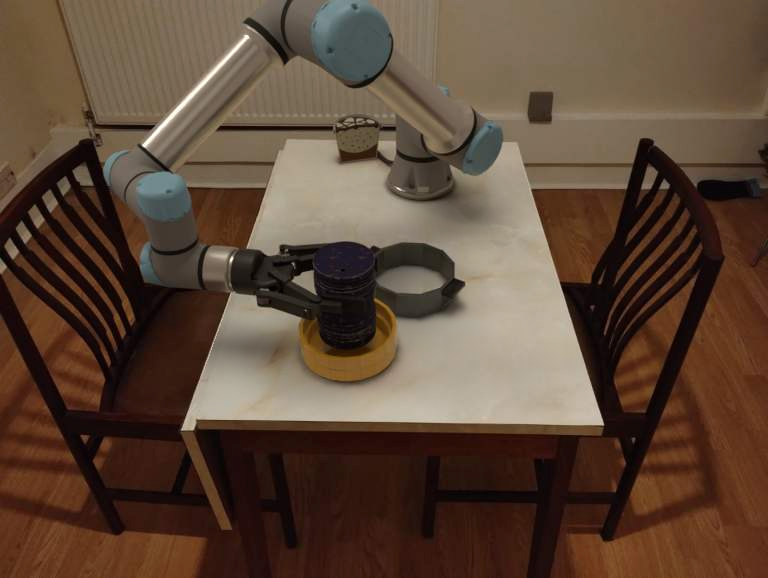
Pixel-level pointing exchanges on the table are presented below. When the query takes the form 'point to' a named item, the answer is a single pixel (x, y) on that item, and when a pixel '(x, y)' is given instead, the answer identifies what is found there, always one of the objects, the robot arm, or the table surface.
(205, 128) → the robot arm
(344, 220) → the table surface
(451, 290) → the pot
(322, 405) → the table surface
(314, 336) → the bowl
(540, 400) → the table surface
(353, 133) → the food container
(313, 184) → the table surface
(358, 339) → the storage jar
